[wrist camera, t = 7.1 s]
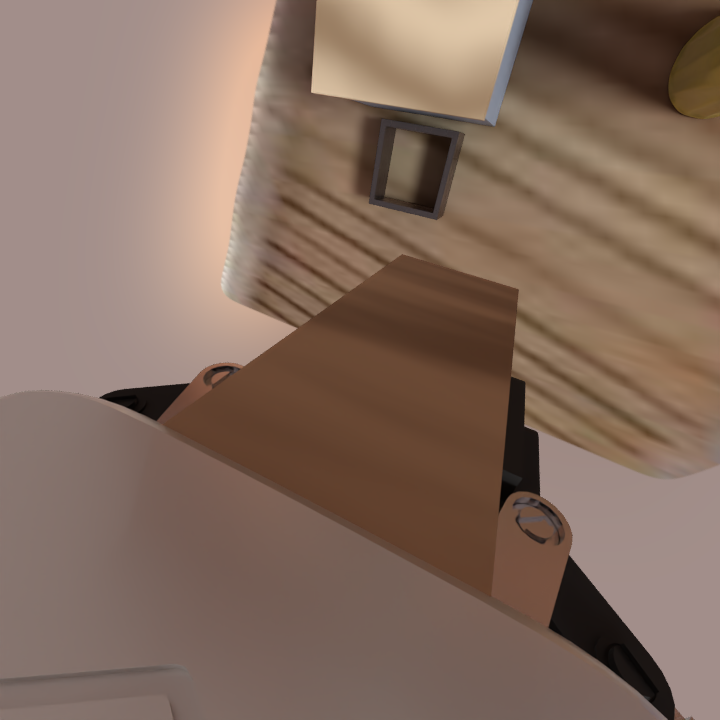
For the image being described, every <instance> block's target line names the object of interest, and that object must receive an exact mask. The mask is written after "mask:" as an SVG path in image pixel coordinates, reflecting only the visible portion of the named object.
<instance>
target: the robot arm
mask: <svg viewBox="0 0 720 720" xmlns="http://www.w3.org/2000/svg"><path fill="white" fill-rule="evenodd" d="M243 367H244V366H242V365H239V364H236V363H219V364H214V365H211V366H209V367H207V368H205V369H203V370H202V371H201V372H200V373H199V374H198V375H197V376H196V377H195V379H194V380H193V381H192V382H191V383H188V384H176V385H165V386H156V387H155V386H154V387H143V388H132V389H123V390H117V391H113V392H110V393H107V394H105V395H103V396H102V397H100V398H96V397H91V396H87V395H83V394H79V393H71V392H62V391H49V390H45V391H44V390H40V391H25V392H19V393H14V394H10V395H7V396H3V397H0V720H694V719H693V718H692V717H688V718H686V719H685V718H684V717H683V716H682V715H681V714H680V713H679V712H678V710H677V709H676V708H675V704H674V700H673V697H672V693H671V689H670V687H669V685H668V683H667V681H666V679H665V677H664V675H663V673H662V671H661V670H660V668H659V667H658V665H657V664H656V663H655V661H654V660H653V658H652V657H651V656H650V654H649V653H648V652H647V651H646V650H645V648H644V647H643V646H642V644H641V643H640V642H639V641H638V639H637V638H636V637H635V636H634V635H633V633H632V632H631V631H630V630H629V628H628V627H627V626H626V625H625V623H624V622H622V620H621V619H620V618H619V616H618V615H617V614H616V612H615V611H614V610H613V609H612V607H611V606H610V605H609V604H608V603H607V601H606V600H605V599H604V598H603V596H602V595H601V594H600V593H599V591H598V590H597V589H596V588H595V586H594V585H593V584H592V583H591V581H590V580H589V579H588V578H587V577H586V575H585V574H584V573H583V572H582V571H581V569H580V568H579V567H578V566H577V564H576V563H575V562H574V560H573V559H572V558H571V557H570V556H569V552H570V549H571V545H572V532H571V529H570V526H569V524H568V522H567V521H566V519H565V517H564V516H563V515H562V513H561V512H560V511H559V510H558V509H557V508H556V507H555V506H554V505H552V504H551V503H550V502H549V501H547V500H546V499H544V498H542V497H540V480H539V479H540V477H539V476H540V475H539V437H538V433H537V432H536V431H534V430H532V429H529V428H527V427H524V415H525V382H524V381H522V380H519V379H516V378H513V377H511V381H510V392H509V403H508V414H507V425H506V436H505V448H504V459H503V470H502V481H501V492H500V503H499V515H498V526H497V537H496V548H495V559H494V570H493V582H492V593H491V597H490V596H488V595H486V594H485V593H483V592H481V591H479V590H477V589H475V588H474V587H472V586H470V585H468V584H466V583H464V582H462V581H460V580H459V579H457V578H455V577H453V576H451V575H449V574H447V573H445V572H443V571H442V570H440V569H438V568H436V567H434V566H432V565H430V564H428V563H427V562H425V561H423V560H421V559H419V558H417V557H415V556H413V555H411V554H410V553H408V552H406V551H404V550H402V549H400V548H398V547H396V546H395V545H393V544H391V543H389V542H387V541H385V540H383V539H381V538H380V537H378V536H376V535H374V534H372V533H370V532H368V531H366V530H364V529H362V528H361V527H359V526H357V525H355V524H353V523H351V522H349V521H347V520H345V519H343V518H342V517H340V516H338V515H336V514H334V513H332V512H330V511H328V510H326V509H324V508H322V507H321V506H319V505H317V504H315V503H313V502H311V501H309V500H307V499H305V498H303V497H301V496H300V495H298V494H296V493H294V492H292V491H290V490H288V489H286V488H284V487H282V486H280V485H279V484H277V483H275V482H273V481H271V480H269V479H267V478H265V477H263V476H261V475H259V474H257V473H256V472H254V471H252V470H250V469H248V468H246V467H244V466H242V465H240V464H238V463H236V462H234V461H232V460H230V459H228V458H226V457H225V456H223V455H221V454H219V453H217V452H215V451H213V450H211V449H209V448H207V447H205V446H203V445H201V444H199V443H197V442H195V441H193V440H192V439H190V438H188V437H186V436H184V435H182V434H180V433H178V432H176V431H174V430H172V429H170V428H168V427H166V426H164V425H162V424H164V423H165V422H167V421H168V420H169V419H171V418H172V417H174V416H175V415H176V414H178V413H179V412H181V411H182V410H184V409H185V408H186V407H188V406H189V405H191V404H192V403H193V402H195V401H196V400H198V399H199V398H200V397H202V396H203V395H205V394H206V393H207V392H209V391H210V390H212V389H213V388H215V387H216V386H217V385H219V384H220V383H222V382H223V381H224V380H226V379H227V378H229V377H230V376H231V375H233V374H234V373H236V372H237V371H239V370H240V369H241V368H243Z"/></svg>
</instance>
